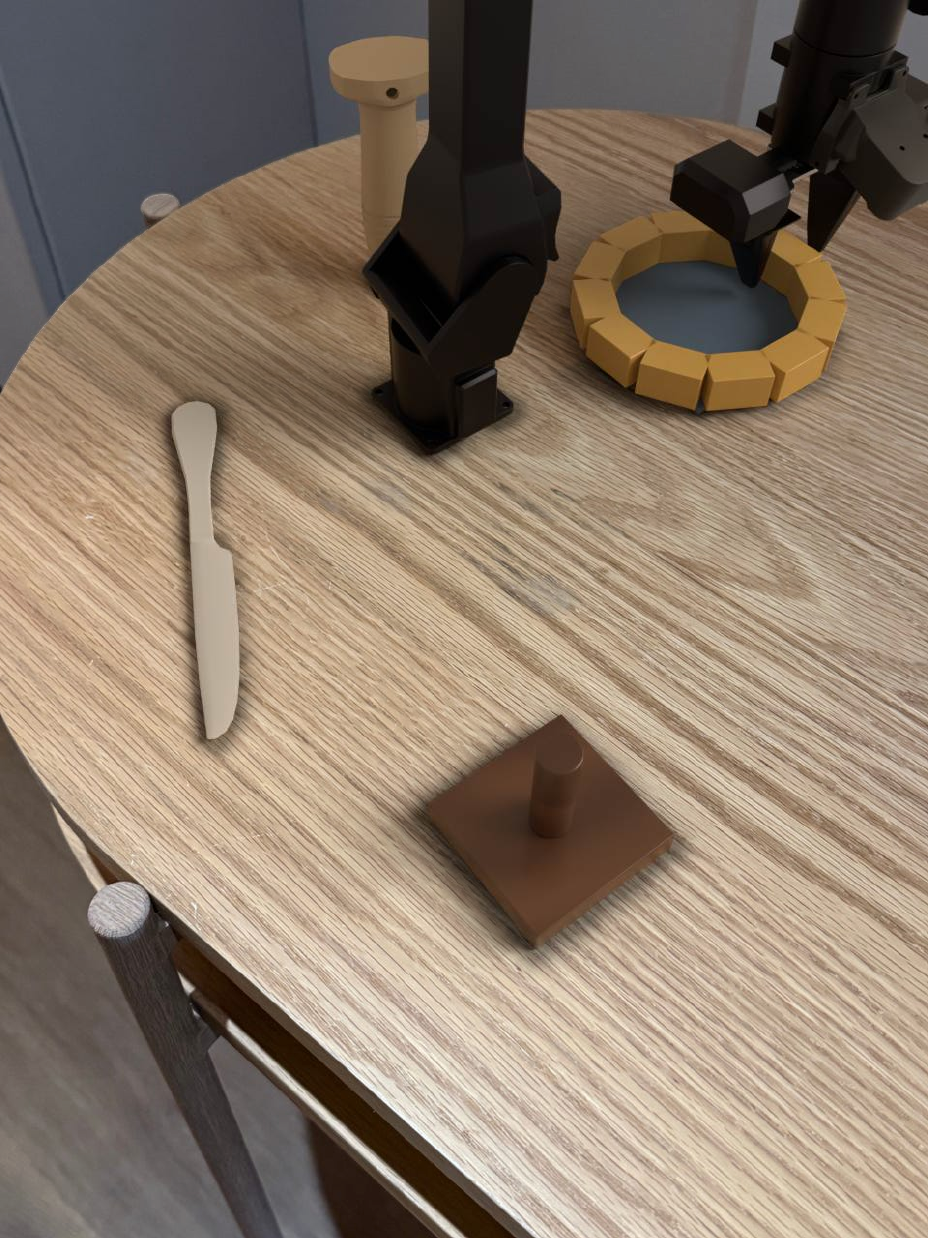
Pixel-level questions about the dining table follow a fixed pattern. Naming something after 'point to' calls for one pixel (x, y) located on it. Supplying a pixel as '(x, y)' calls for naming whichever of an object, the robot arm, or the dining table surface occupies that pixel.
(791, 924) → the dining table surface
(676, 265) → the mat
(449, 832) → the post
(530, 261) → the robot arm
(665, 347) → the ring
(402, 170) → the handle
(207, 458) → the butter knife
